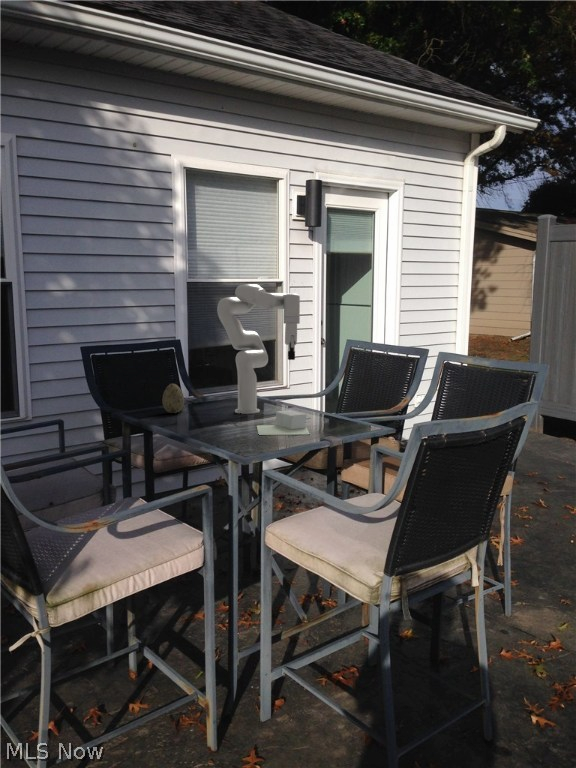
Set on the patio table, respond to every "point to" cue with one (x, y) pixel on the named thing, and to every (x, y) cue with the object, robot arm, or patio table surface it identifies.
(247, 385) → the robot arm
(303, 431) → the mat
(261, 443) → the patio table surface
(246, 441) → the patio table surface
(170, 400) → the decorative egg
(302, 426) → the small box
